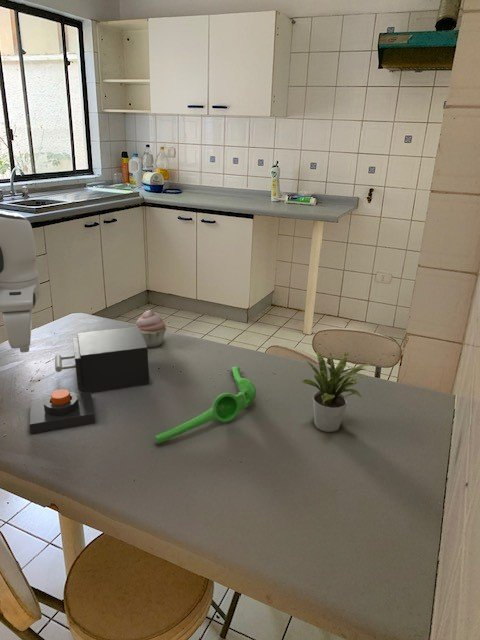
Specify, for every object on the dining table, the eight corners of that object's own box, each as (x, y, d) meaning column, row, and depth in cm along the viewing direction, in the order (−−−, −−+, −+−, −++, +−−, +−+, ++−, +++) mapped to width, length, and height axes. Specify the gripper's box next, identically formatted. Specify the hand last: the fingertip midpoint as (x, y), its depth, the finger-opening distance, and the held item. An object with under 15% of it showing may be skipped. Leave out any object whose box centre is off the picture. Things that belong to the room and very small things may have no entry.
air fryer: (84, 393, 104) (80, 355, 100) (81, 368, 115) (77, 332, 111) (149, 383, 109) (147, 347, 105) (140, 360, 120) (138, 326, 116)
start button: (51, 407, 92) (50, 399, 92) (51, 398, 95) (50, 390, 95) (70, 404, 94) (69, 396, 93) (70, 395, 97) (69, 387, 96)
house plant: (364, 456, 87) (377, 380, 81) (291, 443, 90) (298, 369, 84) (363, 414, 100) (374, 346, 94) (299, 404, 103) (306, 338, 97)
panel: (30, 434, 90) (28, 416, 88) (32, 409, 98) (29, 393, 96) (95, 422, 94) (93, 406, 93) (91, 400, 102) (89, 384, 100)
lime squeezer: (232, 371, 116) (233, 348, 114) (276, 382, 112) (277, 359, 109) (152, 444, 88) (151, 416, 86) (207, 464, 84) (207, 435, 81)
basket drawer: (57, 392, 102) (53, 361, 99) (56, 369, 112) (53, 340, 109) (138, 380, 108) (137, 350, 106) (131, 359, 118) (129, 331, 115)
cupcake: (162, 351, 125) (161, 317, 121) (129, 348, 126) (127, 314, 122) (172, 337, 134) (171, 305, 130) (141, 334, 135) (139, 302, 131)
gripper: (4, 276, 105) (12, 332, 110) (-4, 307, 87) (5, 372, 92) (35, 275, 107) (41, 330, 112) (32, 304, 89) (40, 368, 94)
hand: (25, 349), depth 102 cm, fingers closed
